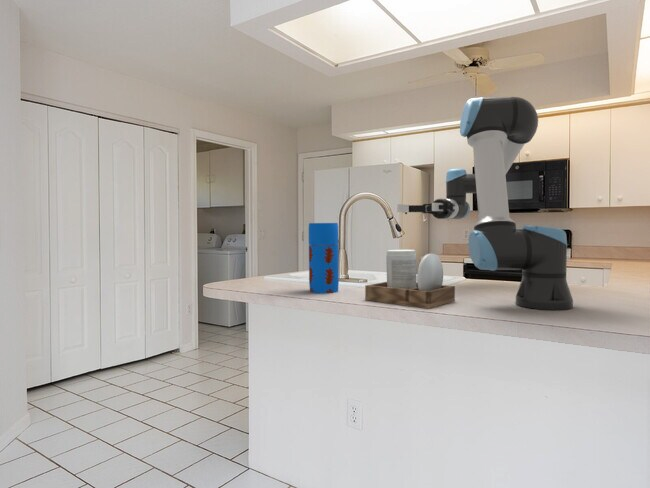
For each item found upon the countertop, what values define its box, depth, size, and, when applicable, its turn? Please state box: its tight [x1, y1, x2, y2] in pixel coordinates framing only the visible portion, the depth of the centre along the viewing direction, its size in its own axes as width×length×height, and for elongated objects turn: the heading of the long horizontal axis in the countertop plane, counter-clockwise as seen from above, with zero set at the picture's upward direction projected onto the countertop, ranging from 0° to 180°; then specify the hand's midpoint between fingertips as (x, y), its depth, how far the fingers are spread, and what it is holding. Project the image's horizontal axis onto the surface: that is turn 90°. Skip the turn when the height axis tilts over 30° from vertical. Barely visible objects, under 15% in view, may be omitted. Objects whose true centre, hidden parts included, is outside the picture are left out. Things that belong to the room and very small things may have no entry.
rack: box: [364, 281, 456, 309], centre depth 142 cm, size 23×16×5 cm
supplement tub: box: [386, 249, 417, 289], centre depth 145 cm, size 10×10×15 cm
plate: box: [416, 253, 444, 291], centre depth 137 cm, size 1×14×14 cm, turn 138°
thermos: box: [308, 222, 340, 294], centre depth 164 cm, size 11×11×25 cm
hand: (414, 207), depth 153 cm, fingers open, 13 cm apart
